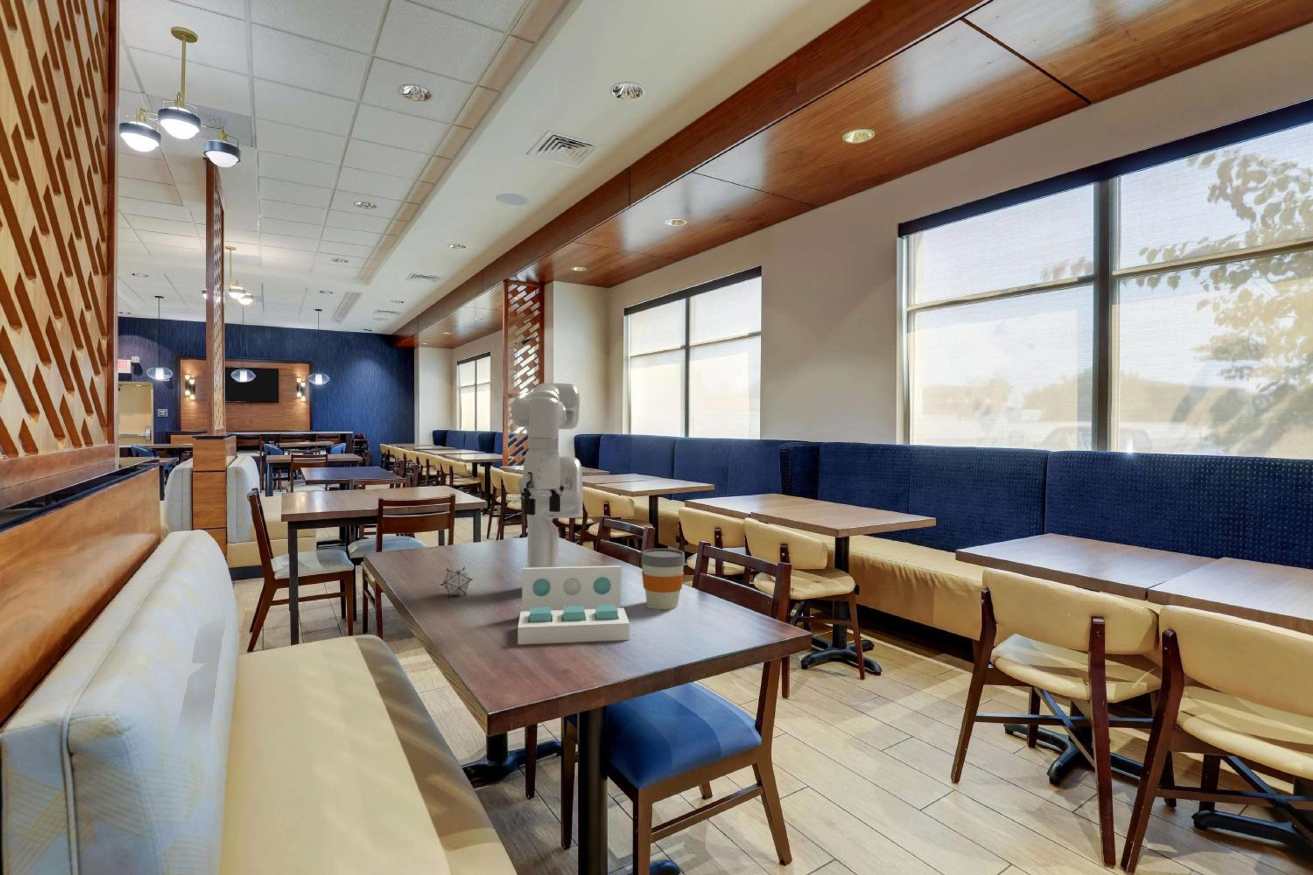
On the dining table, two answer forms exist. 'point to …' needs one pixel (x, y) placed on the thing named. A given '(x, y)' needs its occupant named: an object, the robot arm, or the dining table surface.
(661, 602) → the reusable coffee cup
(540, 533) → the robot arm
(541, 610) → the button
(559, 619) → the button board
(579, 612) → the button
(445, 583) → the grey geometric polyhedron ornament
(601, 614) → the button
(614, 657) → the dining table surface
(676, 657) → the dining table surface
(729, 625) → the dining table surface
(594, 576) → the pattern sign
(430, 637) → the dining table surface
